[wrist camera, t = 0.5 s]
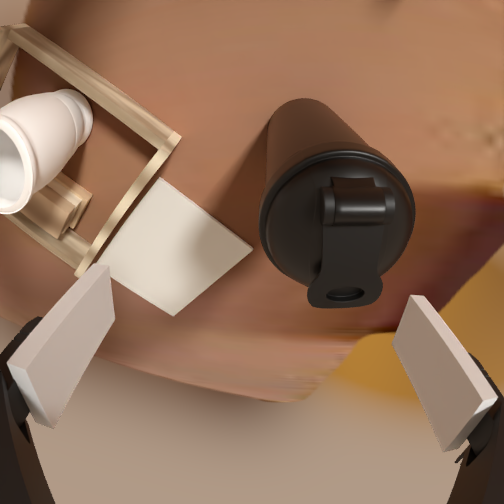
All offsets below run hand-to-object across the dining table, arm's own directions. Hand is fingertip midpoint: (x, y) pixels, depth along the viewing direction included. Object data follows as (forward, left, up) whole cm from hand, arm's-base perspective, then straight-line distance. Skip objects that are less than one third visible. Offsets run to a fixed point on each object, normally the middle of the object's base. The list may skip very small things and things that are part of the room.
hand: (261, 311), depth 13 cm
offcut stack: (+25, -20, -28) cm, 42 cm away
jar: (+15, -20, -27) cm, 37 cm away
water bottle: (-3, +4, -27) cm, 28 cm away
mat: (+23, +3, -27) cm, 36 cm away
